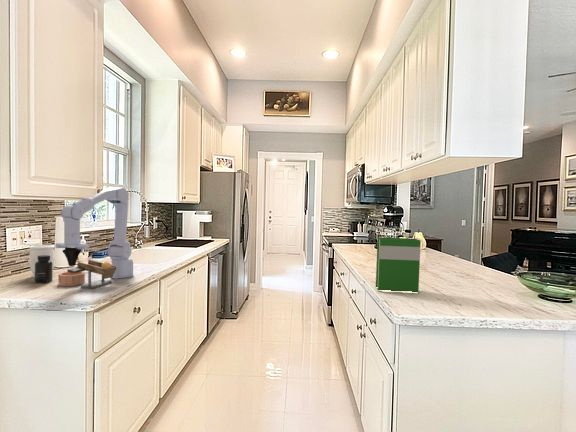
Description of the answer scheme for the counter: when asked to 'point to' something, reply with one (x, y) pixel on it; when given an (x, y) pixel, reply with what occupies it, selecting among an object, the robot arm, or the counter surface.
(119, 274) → the robot arm
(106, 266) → the ball
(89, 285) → the trough stand
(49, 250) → the white tapered cylinder
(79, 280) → the cup
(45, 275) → the supplement bottle
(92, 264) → the brown tray
